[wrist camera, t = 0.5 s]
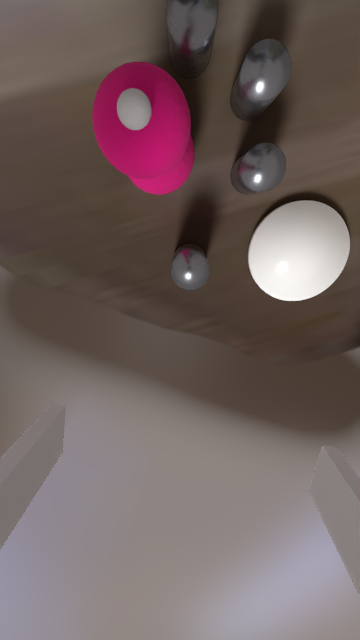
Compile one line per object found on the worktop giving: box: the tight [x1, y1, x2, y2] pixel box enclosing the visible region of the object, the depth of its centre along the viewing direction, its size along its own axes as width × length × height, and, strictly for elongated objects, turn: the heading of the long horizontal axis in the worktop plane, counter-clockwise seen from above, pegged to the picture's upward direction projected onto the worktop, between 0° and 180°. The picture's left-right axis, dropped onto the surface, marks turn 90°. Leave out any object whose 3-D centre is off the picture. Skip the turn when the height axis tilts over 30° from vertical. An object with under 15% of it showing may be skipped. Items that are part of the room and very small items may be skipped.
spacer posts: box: [166, 0, 291, 290], centre depth 30 cm, size 20×18×7 cm
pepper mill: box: [92, 62, 194, 194], centre depth 24 cm, size 7×7×20 cm
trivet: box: [248, 200, 350, 301], centre depth 36 cm, size 12×12×1 cm
